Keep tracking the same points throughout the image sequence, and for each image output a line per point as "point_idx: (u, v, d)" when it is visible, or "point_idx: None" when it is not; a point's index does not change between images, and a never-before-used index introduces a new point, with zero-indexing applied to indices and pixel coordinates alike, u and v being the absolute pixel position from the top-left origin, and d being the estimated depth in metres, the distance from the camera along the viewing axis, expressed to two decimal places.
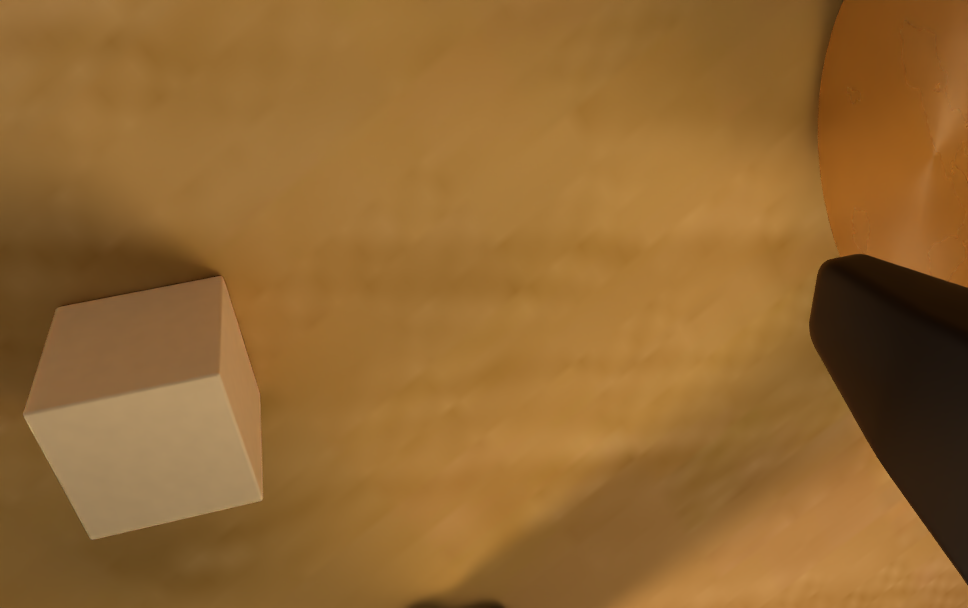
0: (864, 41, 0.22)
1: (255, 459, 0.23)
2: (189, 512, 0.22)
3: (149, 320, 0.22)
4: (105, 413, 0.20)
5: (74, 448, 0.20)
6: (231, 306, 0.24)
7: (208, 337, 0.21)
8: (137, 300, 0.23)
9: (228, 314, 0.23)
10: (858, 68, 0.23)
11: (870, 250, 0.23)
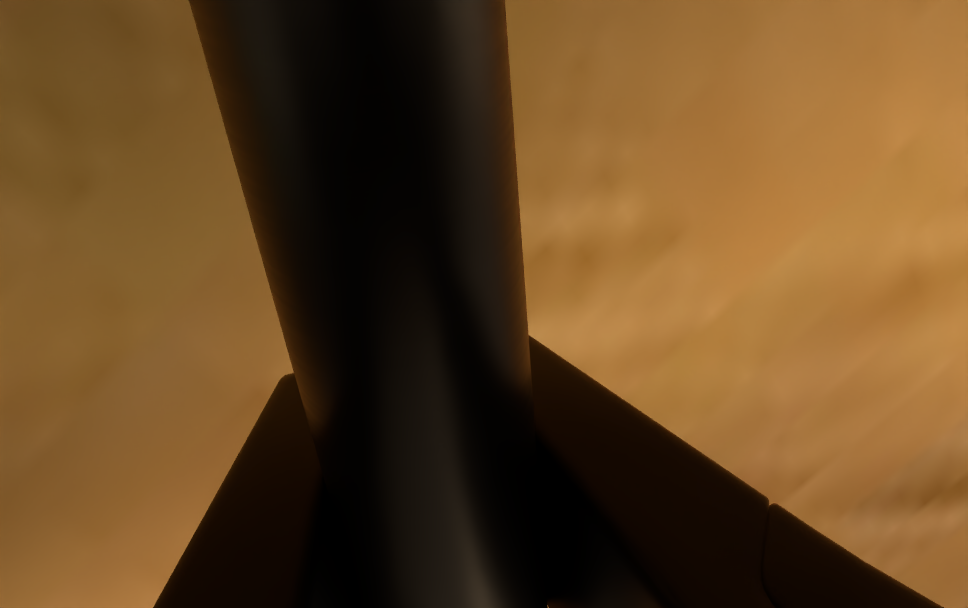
0: None
1: None
2: None
3: None
4: None
5: None
6: None
7: None
8: None
9: None
10: None
11: None
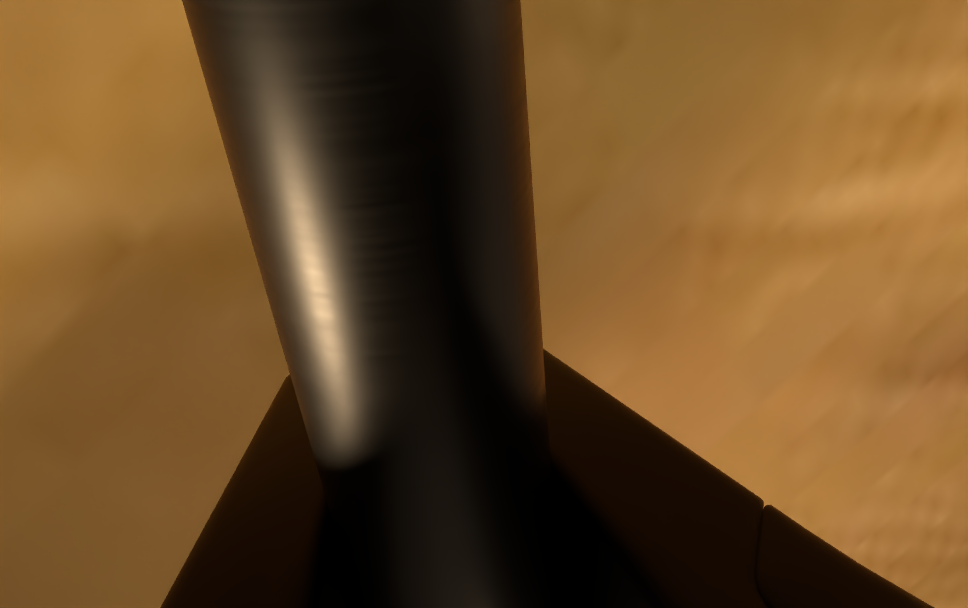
0: None
1: None
2: None
3: None
4: None
5: None
6: None
7: None
8: None
9: None
10: None
11: None
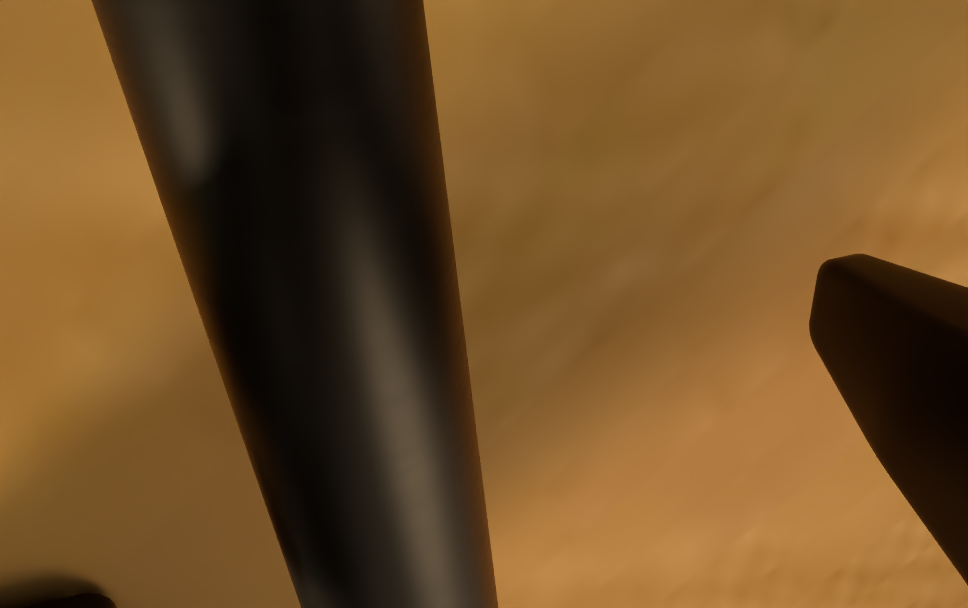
0: None
1: None
2: None
3: None
4: None
5: None
6: None
7: None
8: None
9: None
10: None
11: None
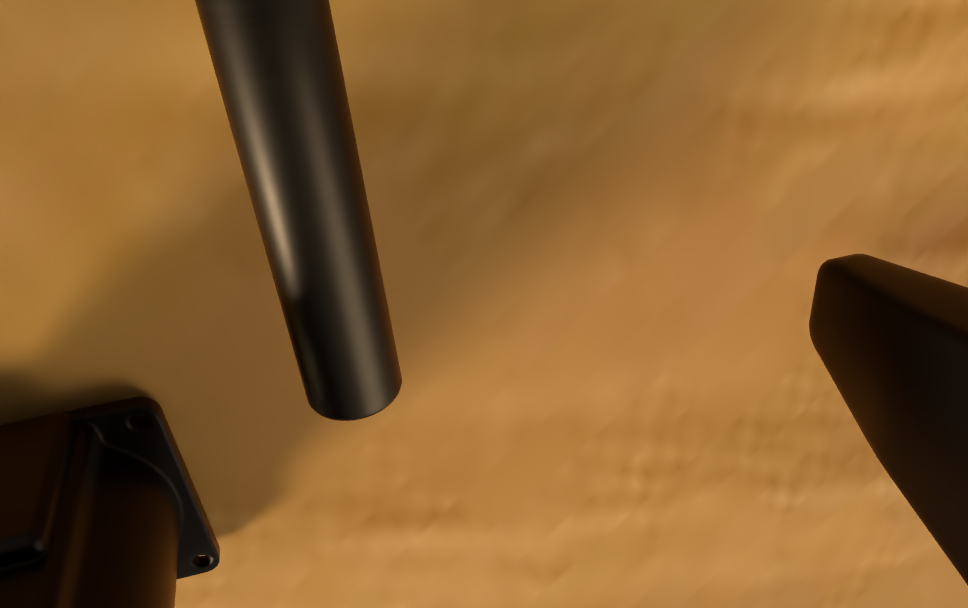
0: None
1: None
2: None
3: None
4: None
5: None
6: None
7: None
8: None
9: None
10: None
11: None
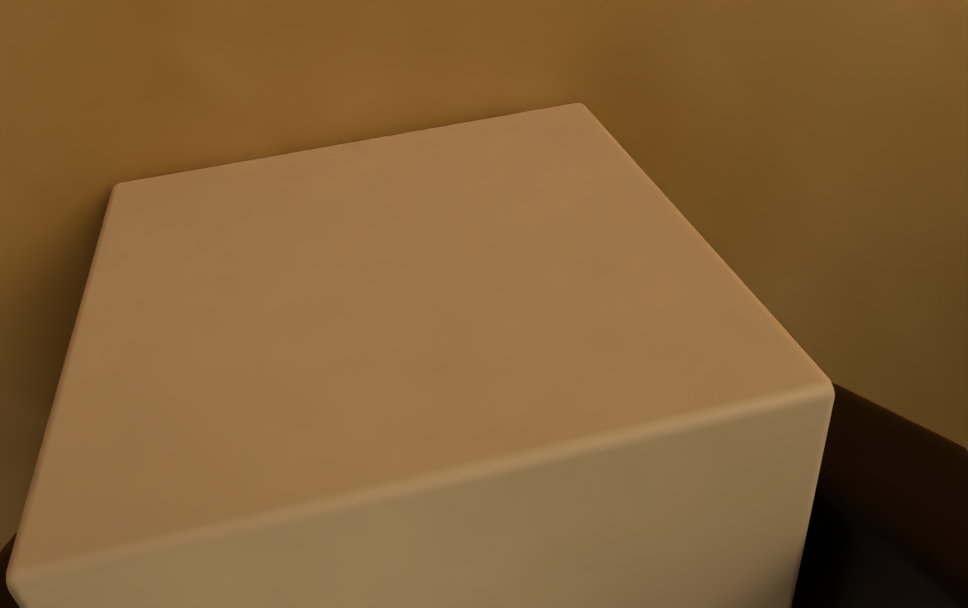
0: None
1: (643, 343, 0.05)
2: (766, 603, 0.06)
3: None
4: None
5: None
6: (215, 173, 0.08)
7: None
8: None
9: (179, 221, 0.07)
10: None
11: None
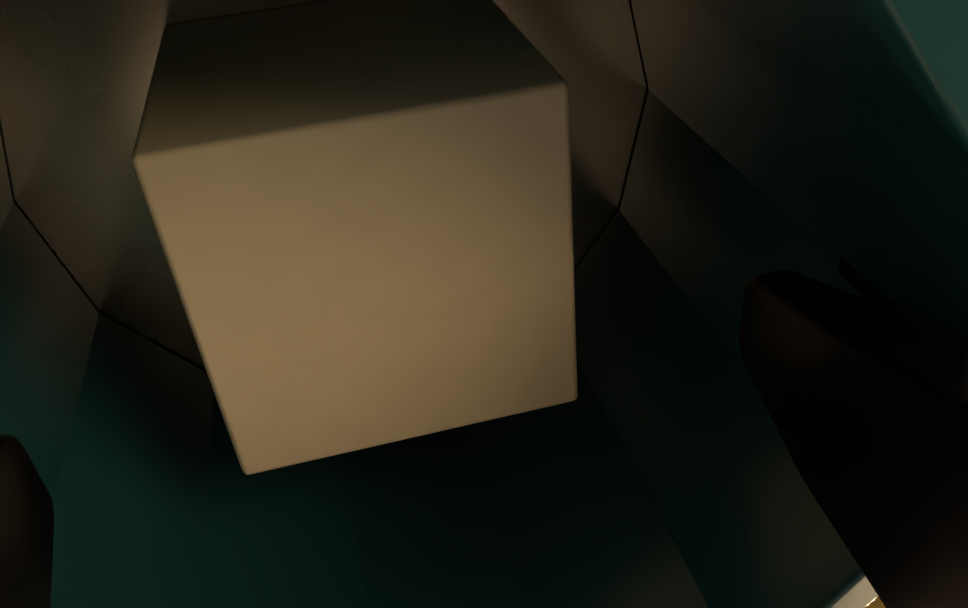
0: None
1: (472, 73, 0.09)
2: (555, 240, 0.10)
3: None
4: (248, 367, 0.10)
5: (335, 413, 0.11)
6: (230, 19, 0.12)
7: None
8: None
9: (208, 40, 0.11)
10: None
11: None
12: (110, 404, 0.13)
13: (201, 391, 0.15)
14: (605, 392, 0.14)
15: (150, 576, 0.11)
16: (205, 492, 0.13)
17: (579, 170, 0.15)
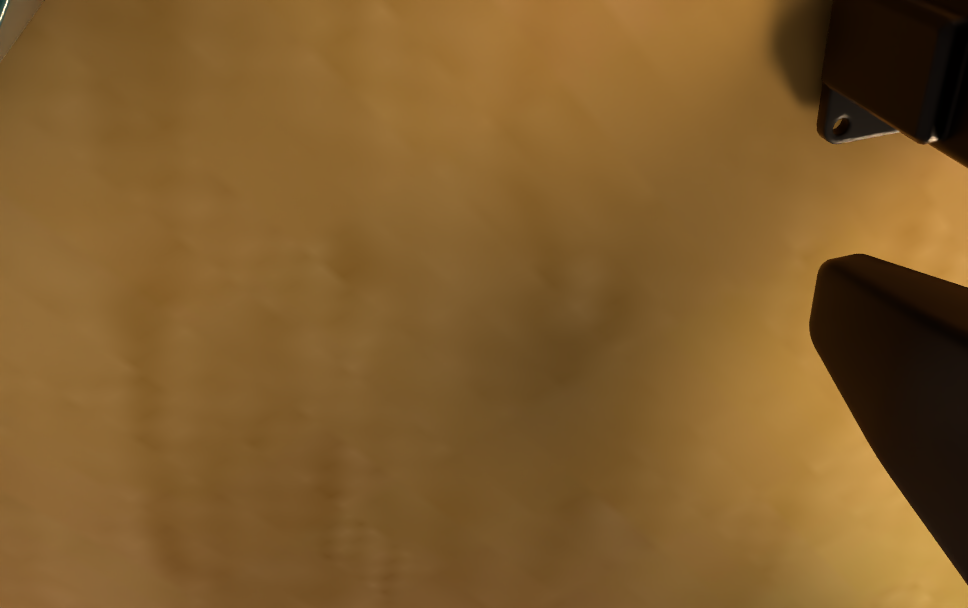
0: None
1: None
2: None
3: None
4: None
5: None
6: None
7: None
8: None
9: None
10: None
11: None
12: None
13: None
14: None
15: None
16: None
17: None
